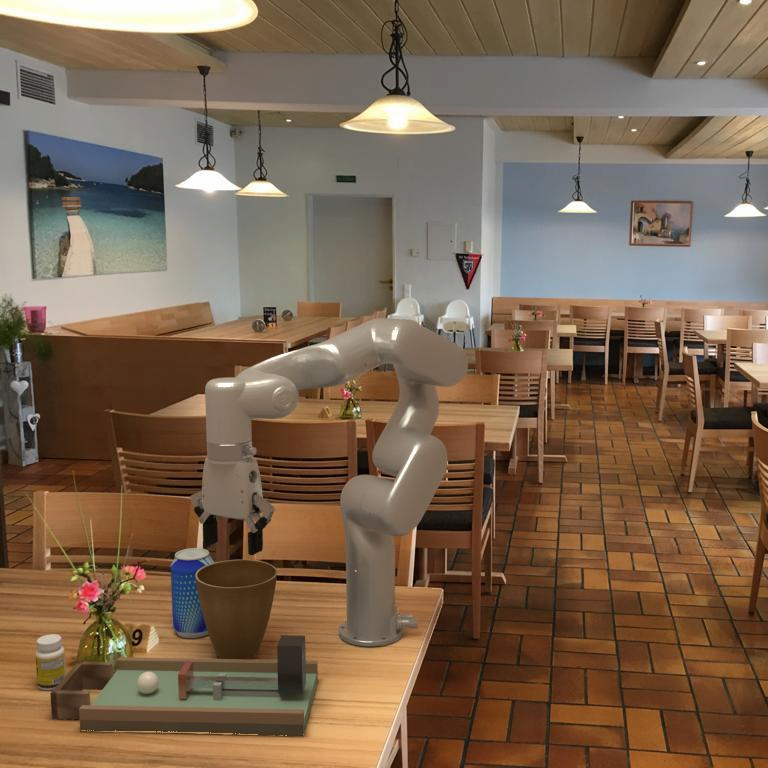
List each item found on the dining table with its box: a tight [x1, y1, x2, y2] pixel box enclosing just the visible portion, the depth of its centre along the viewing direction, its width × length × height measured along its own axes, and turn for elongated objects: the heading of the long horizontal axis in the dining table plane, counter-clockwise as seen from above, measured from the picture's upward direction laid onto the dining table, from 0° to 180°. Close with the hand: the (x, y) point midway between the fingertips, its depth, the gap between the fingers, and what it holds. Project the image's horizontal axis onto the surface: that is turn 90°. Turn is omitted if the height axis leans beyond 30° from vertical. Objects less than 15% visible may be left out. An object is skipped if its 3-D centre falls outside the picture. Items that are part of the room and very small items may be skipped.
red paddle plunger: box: [178, 634, 307, 699], centre depth 144 cm, size 20×5×9 cm, turn 87°
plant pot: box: [195, 559, 278, 660], centre depth 163 cm, size 15×15×16 cm
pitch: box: [79, 656, 319, 737], centre depth 145 cm, size 35×18×5 cm, turn 87°
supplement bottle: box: [34, 633, 67, 691], centre depth 152 cm, size 5×5×8 cm
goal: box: [50, 661, 114, 721], centre depth 146 cm, size 6×11×4 cm, turn 177°
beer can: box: [170, 547, 215, 639], centre depth 173 cm, size 8×8×16 cm
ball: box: [137, 672, 159, 694], centre depth 145 cm, size 4×4×4 cm
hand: (232, 548), depth 151 cm, fingers open, 9 cm apart
